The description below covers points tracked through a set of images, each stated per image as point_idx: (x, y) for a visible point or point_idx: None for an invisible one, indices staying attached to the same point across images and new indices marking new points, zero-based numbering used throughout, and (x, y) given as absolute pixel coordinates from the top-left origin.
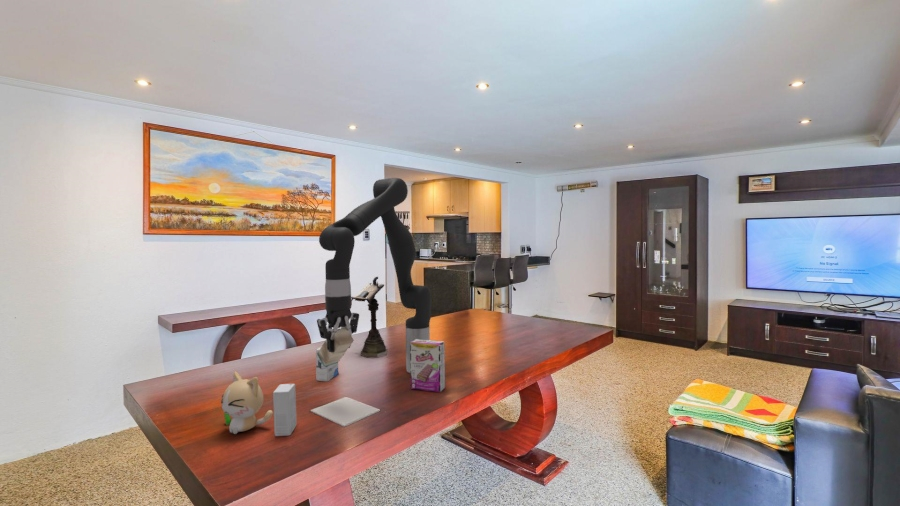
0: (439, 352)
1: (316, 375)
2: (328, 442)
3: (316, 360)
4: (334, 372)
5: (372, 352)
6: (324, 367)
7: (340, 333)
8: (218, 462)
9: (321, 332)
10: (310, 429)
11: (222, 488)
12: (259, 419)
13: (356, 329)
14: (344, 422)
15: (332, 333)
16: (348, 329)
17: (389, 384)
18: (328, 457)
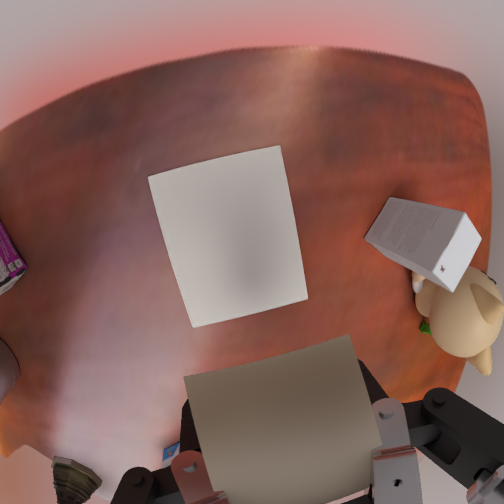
0: None
1: None
2: (340, 101)
3: None
4: (175, 450)
5: (78, 472)
6: None
7: (315, 458)
8: (476, 188)
9: (453, 444)
10: (348, 194)
11: (478, 112)
12: (422, 283)
13: (122, 486)
14: (271, 162)
15: (404, 439)
16: (212, 499)
17: (64, 334)
18: (359, 52)
